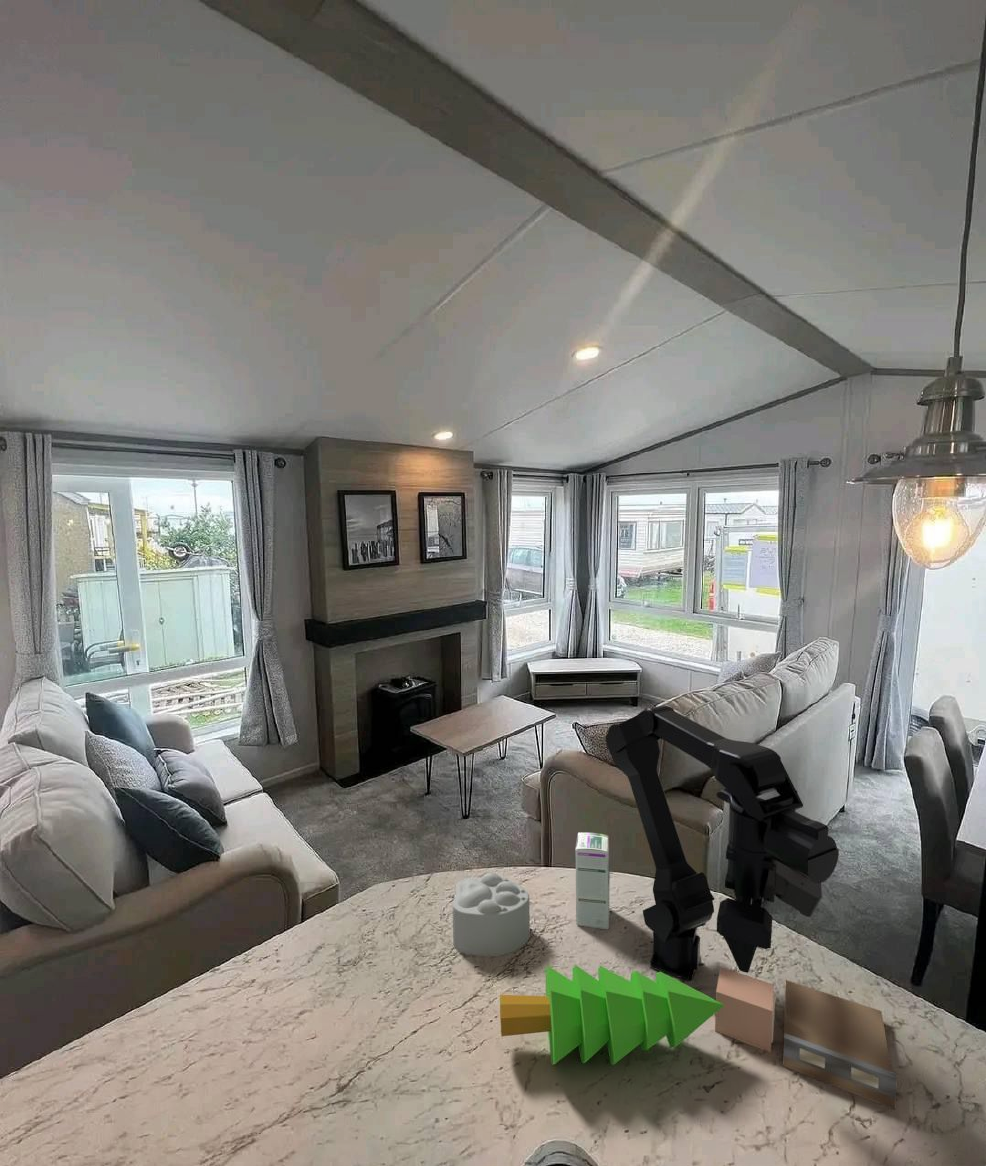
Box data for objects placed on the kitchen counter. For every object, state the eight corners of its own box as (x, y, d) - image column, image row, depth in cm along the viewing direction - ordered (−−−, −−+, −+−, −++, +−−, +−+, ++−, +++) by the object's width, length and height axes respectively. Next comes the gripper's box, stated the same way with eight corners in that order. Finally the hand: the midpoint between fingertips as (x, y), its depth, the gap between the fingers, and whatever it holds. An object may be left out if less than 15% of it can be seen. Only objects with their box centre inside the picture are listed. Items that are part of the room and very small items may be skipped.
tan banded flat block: (782, 1067, 74) (784, 1039, 74) (785, 989, 87) (786, 964, 86) (895, 1111, 68) (897, 1080, 68) (880, 1020, 81) (882, 994, 81)
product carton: (714, 1031, 80) (716, 991, 79) (719, 1004, 84) (720, 966, 83) (772, 1053, 76) (774, 1011, 76) (773, 1024, 81) (775, 985, 80)
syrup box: (609, 930, 100) (610, 851, 98) (575, 926, 101) (575, 847, 99) (609, 909, 105) (610, 833, 104) (576, 905, 106) (577, 830, 105)
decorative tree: (498, 948, 79) (715, 938, 79) (501, 993, 84) (704, 984, 84) (500, 1045, 69) (749, 1035, 69) (503, 1090, 74) (735, 1080, 74)
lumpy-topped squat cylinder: (458, 912, 105) (457, 867, 104) (529, 914, 104) (529, 869, 103) (451, 955, 94) (450, 905, 93) (530, 957, 94) (529, 907, 93)
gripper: (821, 898, 66) (815, 1023, 67) (817, 823, 82) (811, 925, 84) (718, 871, 71) (714, 988, 72) (733, 806, 87) (729, 902, 89)
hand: (746, 948), depth 79 cm, fingers open, 9 cm apart
